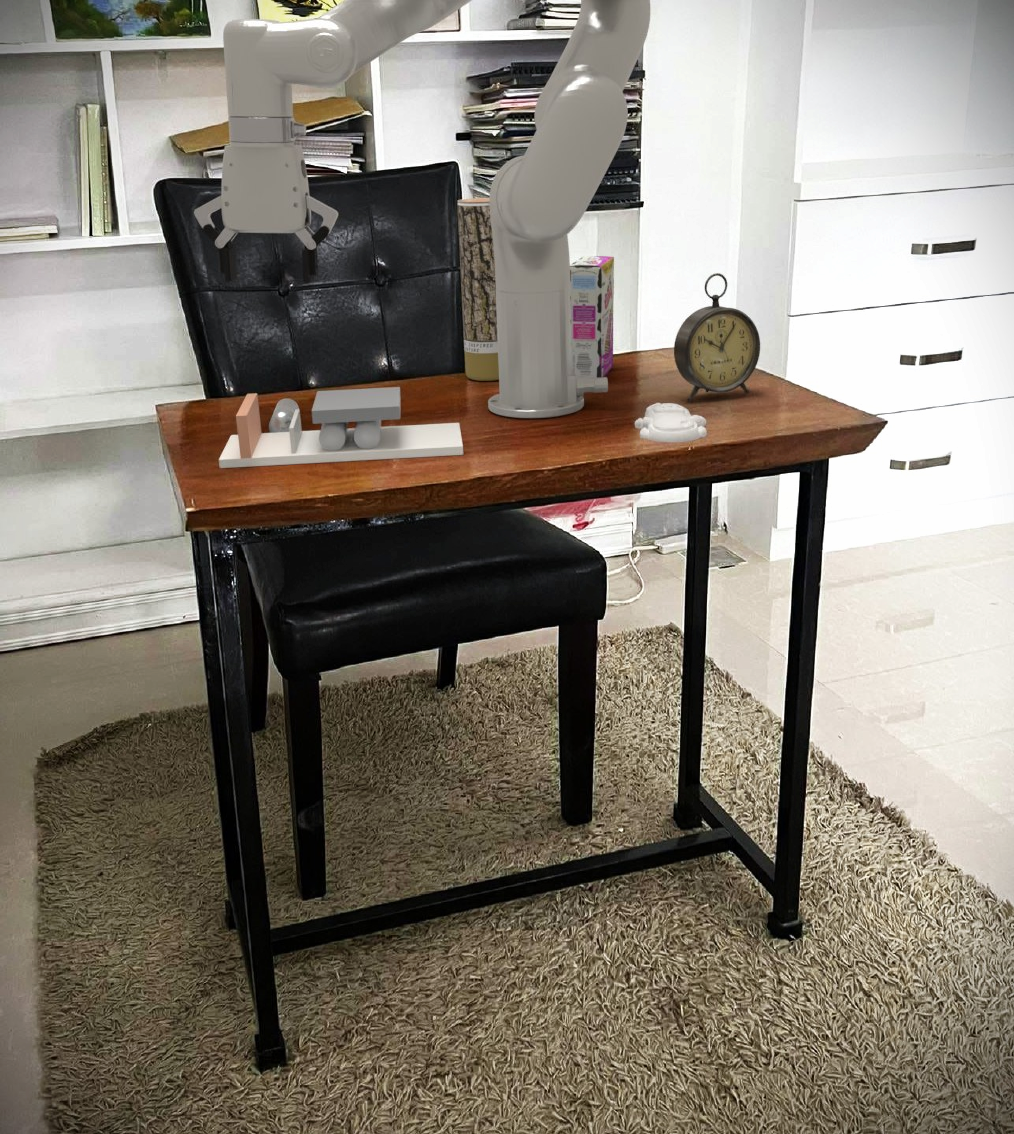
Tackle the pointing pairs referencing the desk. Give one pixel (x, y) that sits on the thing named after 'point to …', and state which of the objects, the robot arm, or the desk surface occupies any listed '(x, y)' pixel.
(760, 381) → the desk surface
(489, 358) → the paper tube
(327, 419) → the slab
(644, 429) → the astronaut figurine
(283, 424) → the roller
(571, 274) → the candy bar box
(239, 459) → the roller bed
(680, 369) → the alarm clock
